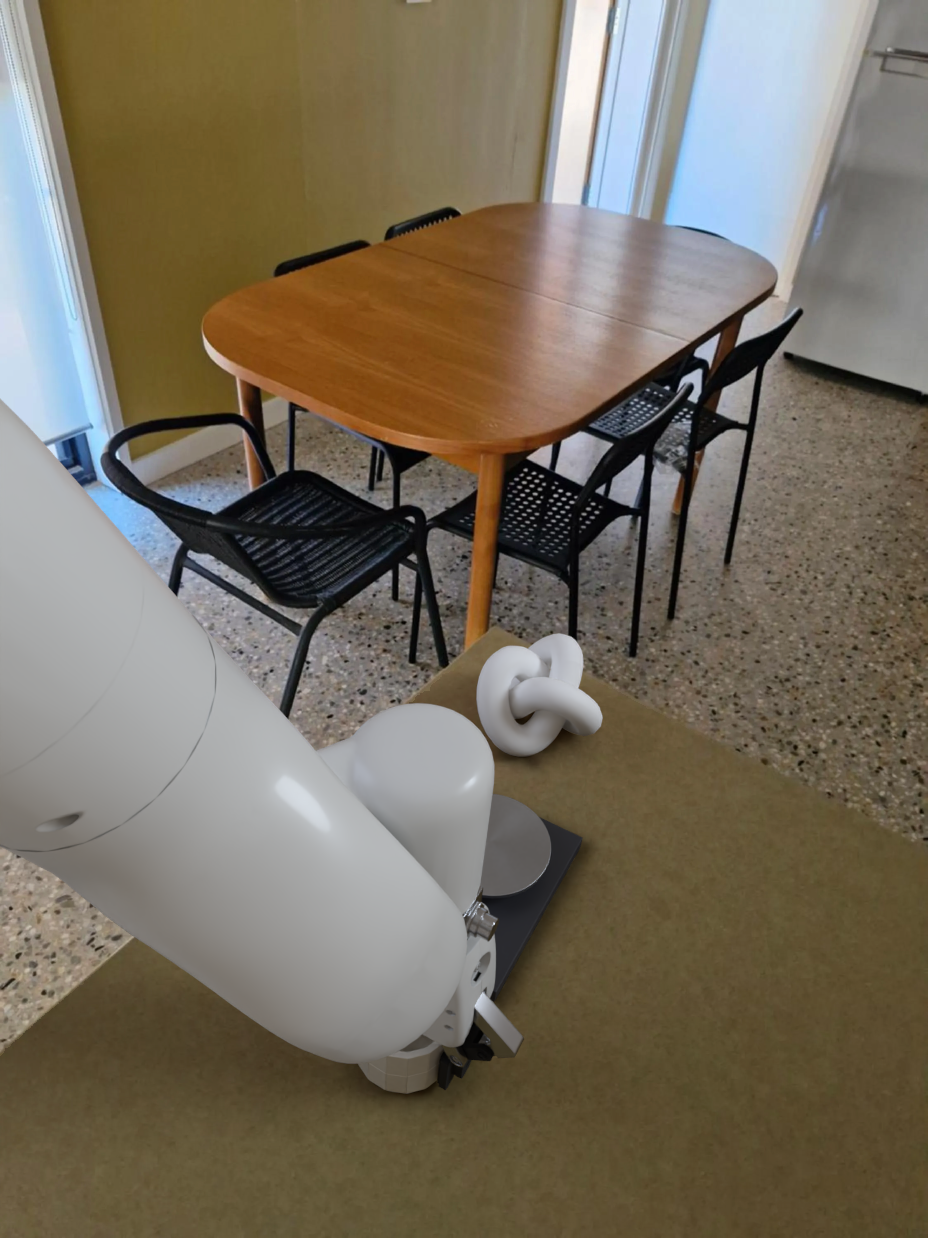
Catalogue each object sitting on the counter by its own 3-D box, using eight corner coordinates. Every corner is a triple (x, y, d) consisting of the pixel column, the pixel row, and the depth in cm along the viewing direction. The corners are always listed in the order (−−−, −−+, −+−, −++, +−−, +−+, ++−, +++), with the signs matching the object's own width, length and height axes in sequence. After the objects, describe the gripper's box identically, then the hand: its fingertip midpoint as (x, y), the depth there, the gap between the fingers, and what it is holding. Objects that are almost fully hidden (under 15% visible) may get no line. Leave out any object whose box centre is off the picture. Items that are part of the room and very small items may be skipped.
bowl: (420, 1117, 58) (424, 1079, 55) (334, 1062, 61) (332, 1022, 57) (471, 1028, 63) (477, 988, 60) (389, 980, 66) (390, 939, 62)
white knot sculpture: (507, 792, 80) (517, 723, 74) (447, 706, 88) (452, 637, 82) (609, 754, 85) (627, 685, 79) (543, 675, 93) (555, 608, 87)
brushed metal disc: (516, 920, 67) (517, 917, 67) (404, 861, 70) (404, 858, 70) (570, 828, 74) (570, 825, 74) (465, 778, 77) (465, 775, 77)
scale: (492, 1006, 65) (495, 985, 63) (330, 914, 69) (329, 892, 68) (580, 847, 76) (585, 825, 74) (436, 778, 81) (438, 755, 79)
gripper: (578, 913, 50) (540, 1058, 61) (326, 784, 56) (333, 938, 67) (519, 1026, 45) (489, 1162, 56) (248, 871, 51) (270, 1022, 62)
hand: (404, 1039), depth 62 cm, fingers closed on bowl, 7 cm apart
